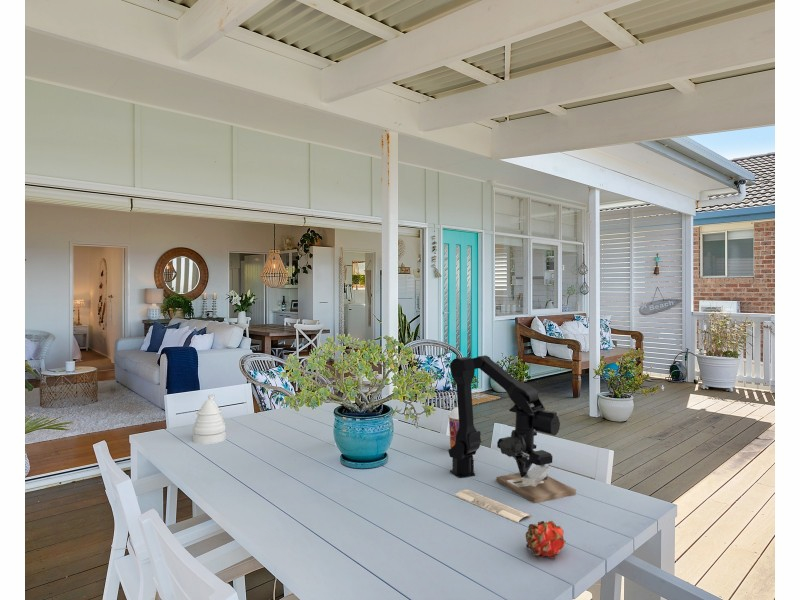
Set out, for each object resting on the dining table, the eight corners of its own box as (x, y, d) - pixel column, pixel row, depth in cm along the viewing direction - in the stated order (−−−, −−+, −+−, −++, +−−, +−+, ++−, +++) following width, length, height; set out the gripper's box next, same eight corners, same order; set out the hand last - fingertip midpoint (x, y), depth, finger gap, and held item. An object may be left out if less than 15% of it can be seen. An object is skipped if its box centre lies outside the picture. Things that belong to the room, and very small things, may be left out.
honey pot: (200, 434, 223) (200, 392, 222) (230, 435, 222) (230, 393, 222) (187, 443, 210) (187, 399, 209) (218, 444, 209) (218, 399, 209)
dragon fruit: (525, 568, 120) (556, 559, 128) (552, 558, 115) (583, 549, 123) (511, 529, 125) (542, 523, 132) (537, 518, 120) (567, 512, 127)
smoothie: (469, 448, 206) (470, 397, 206) (470, 454, 198) (470, 402, 197) (448, 447, 207) (448, 397, 207) (448, 454, 199) (448, 401, 198)
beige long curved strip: (531, 519, 144) (531, 513, 144) (515, 527, 139) (515, 520, 139) (468, 493, 162) (468, 487, 162) (452, 499, 158) (452, 493, 158)
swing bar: (539, 468, 172) (540, 460, 172) (552, 470, 170) (552, 463, 169) (522, 483, 158) (522, 475, 158) (535, 486, 156) (535, 478, 156)
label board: (534, 503, 153) (534, 490, 153) (496, 481, 171) (496, 470, 170) (575, 494, 160) (576, 482, 160) (535, 474, 177) (535, 463, 177)
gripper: (484, 423, 165) (483, 471, 166) (526, 440, 149) (524, 493, 149) (511, 419, 170) (509, 466, 171) (554, 435, 154) (552, 486, 155)
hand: (522, 477), depth 162 cm, fingers closed
